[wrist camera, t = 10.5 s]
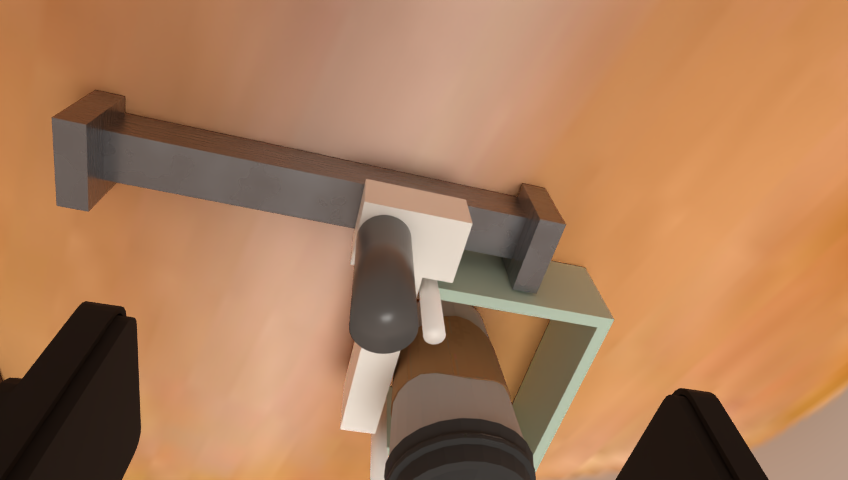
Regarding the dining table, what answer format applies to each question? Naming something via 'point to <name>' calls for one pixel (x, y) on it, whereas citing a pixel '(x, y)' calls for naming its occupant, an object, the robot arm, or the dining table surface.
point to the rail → (276, 180)
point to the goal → (557, 352)
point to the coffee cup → (454, 408)
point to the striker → (394, 284)
